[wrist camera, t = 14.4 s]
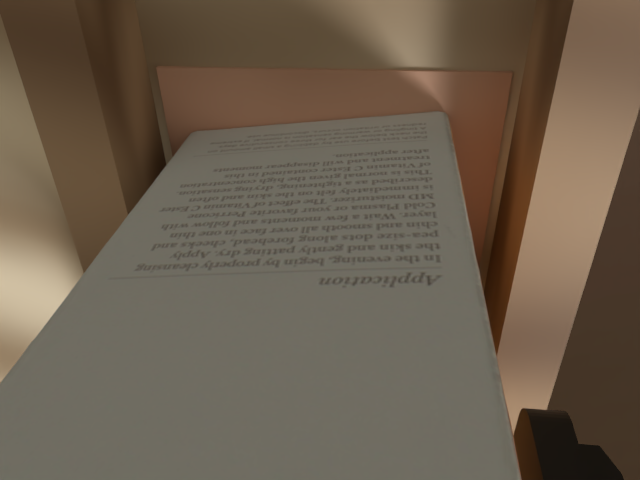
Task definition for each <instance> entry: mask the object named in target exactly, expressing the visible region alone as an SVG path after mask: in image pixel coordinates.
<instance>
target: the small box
mask: <svg viewBox="0 0 640 480" xmlns="http://www.w3.org/2000/svg"><path fill="white" fill-rule="evenodd" d="M0 480H522V478H521V473H520V468H519V463H518V457H517V452H516V447H515V442H514V437H513V432H512V426H511V421H510V417H509V413H508V408H507V404H506V400H505V395H504V390H503V385H502V380H501V375H500V370H499V365H498V360H497V355H496V350H495V345H494V340H493V335H492V331H491V326H490V321H489V316H488V311H487V306H486V301H485V297H484V292H483V286H482V281H481V276H480V271H479V267H478V263H477V259H476V254H475V249H474V243H473V238H472V232H471V227H470V223H469V218H468V213H467V209H466V203H465V198H464V193H463V188H462V183H461V178H460V173H459V167H458V161H457V156H456V151H455V147H454V142H453V135H452V131H451V126H450V122H449V117H448V115H447V114H446V113H445V112H440V111H432V112H423V113H411V114H400V115H389V116H376V117H362V118H351V119H340V120H328V121H316V122H301V123H288V124H274V125H264V126H251V127H240V128H231V129H218V130H204V131H195V132H192V133H191V134H190V135H189V136H188V137H187V139H186V140H185V141H184V143H183V144H182V145H181V147H180V148H179V149H178V151H177V152H176V153H175V155H174V156H173V157H172V159H171V160H170V161H169V162H168V164H167V165H166V166H165V168H164V169H163V170H162V172H161V173H160V174H159V175H158V177H157V178H156V179H155V181H154V182H153V183H152V185H151V186H150V187H149V189H148V190H147V191H146V193H145V194H144V195H143V197H142V198H141V199H140V200H139V202H138V203H137V204H136V206H135V207H134V208H133V209H132V211H131V212H130V213H129V214H128V216H127V217H126V218H125V220H124V221H123V222H122V224H121V225H120V227H119V228H118V229H117V231H116V232H115V233H114V234H113V236H112V237H111V238H110V240H109V241H108V242H107V243H106V245H105V246H104V247H103V248H102V250H101V251H100V252H99V254H98V255H97V256H96V258H95V259H94V261H93V262H92V263H91V265H90V266H89V267H88V269H87V270H86V271H85V273H84V274H83V275H82V277H81V278H80V279H79V281H78V282H77V283H76V285H75V286H74V287H73V289H72V290H71V291H70V293H69V294H68V296H67V297H66V298H65V300H64V301H63V302H62V304H61V305H60V306H59V307H58V309H57V310H56V311H55V313H54V314H53V315H52V317H51V318H50V319H49V321H48V322H47V323H46V325H45V326H44V327H43V329H42V330H41V331H40V332H39V334H38V335H37V336H36V338H35V339H34V340H33V341H32V342H31V343H30V345H29V346H28V347H27V349H26V350H25V352H24V353H23V354H22V356H21V357H20V358H19V360H18V361H17V362H16V364H15V365H14V366H13V367H12V369H11V370H10V371H9V373H8V374H7V375H6V376H5V378H4V379H3V380H2V382H1V383H0Z"/></svg>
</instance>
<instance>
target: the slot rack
mask: <svg viewBox="0 0 640 480" xmlns="http://www.w3.org/2000/svg"><path fill="white" fill-rule="evenodd" d="M639 108H640V0H0V383H1V382H2V380H3V379H4V378H5V376H6V375H7V374H8V373H9V371H10V370H11V369H12V367H13V366H14V365H15V364H16V362H17V361H18V360H19V358H20V357H21V356H22V354H23V353H24V352H25V350H26V349H27V347H28V346H29V345H30V343H31V342H32V341H33V340H34V339H35V338H36V336H37V335H38V334H39V332H40V331H41V330H42V329H43V327H44V326H45V325H46V323H47V322H48V321H49V319H50V318H51V317H52V315H53V314H54V313H55V311H56V310H57V309H58V307H59V306H60V305H61V304H62V302H63V301H64V300H65V298H66V297H67V296H68V294H69V293H70V291H71V290H72V289H73V287H74V286H75V285H76V283H77V282H78V281H79V279H80V278H81V277H82V275H83V274H84V273H85V271H86V270H87V269H88V267H89V266H90V265H91V263H92V262H93V261H94V259H95V258H96V256H97V255H98V254H99V252H100V251H101V250H102V248H103V247H104V246H105V245H106V243H107V242H108V241H109V240H110V238H111V237H112V236H113V234H114V233H115V232H116V231H117V229H118V228H119V227H120V225H121V224H122V222H123V221H124V220H125V218H126V217H127V216H128V214H129V213H130V212H131V211H132V209H133V208H134V207H135V206H136V204H137V203H138V202H139V200H140V199H141V198H142V197H143V195H144V194H145V193H146V191H147V190H148V189H149V187H150V186H151V185H152V183H153V182H154V181H155V179H156V178H157V177H158V175H159V174H160V173H161V172H162V170H163V169H164V168H165V166H166V165H167V164H168V162H169V161H170V160H171V159H172V157H173V156H174V155H175V153H176V152H177V151H178V149H179V148H180V147H181V145H182V144H183V143H184V141H185V140H186V139H187V137H188V136H189V135H190V134H191V133H192V132H195V131H204V130H218V129H231V128H240V127H251V126H264V125H274V124H288V123H301V122H316V121H328V120H340V119H351V118H362V117H376V116H389V115H400V114H411V113H423V112H432V111H440V112H445V113H446V114H447V115H448V117H449V122H450V126H451V131H452V135H453V142H454V147H455V151H456V156H457V161H458V167H459V173H460V178H461V183H462V188H463V193H464V198H465V203H466V209H467V213H468V218H469V223H470V227H471V232H472V238H473V243H474V249H475V254H476V259H477V263H478V267H479V271H480V276H481V281H482V286H483V292H484V297H485V301H486V306H487V311H488V316H489V321H490V326H491V331H492V335H493V340H494V345H495V350H496V355H497V360H498V365H499V370H500V375H501V380H502V385H503V390H504V395H505V400H506V404H507V408H508V413H509V417H510V421H511V426H512V432H513V435H514V431H515V427H516V424H517V420H518V416H519V413H520V411H521V409H522V408H529V409H542V410H547V406H548V403H549V400H550V397H551V393H552V390H553V387H554V384H555V381H556V377H557V374H558V371H559V368H560V364H561V361H562V358H563V355H564V351H565V348H566V345H567V342H568V338H569V335H570V332H571V329H572V325H573V322H574V319H575V316H576V312H577V309H578V306H579V303H580V299H581V296H582V293H583V290H584V286H585V283H586V280H587V277H588V273H589V270H590V267H591V264H592V261H593V257H594V254H595V251H596V248H597V244H598V241H599V238H600V235H601V231H602V228H603V225H604V222H605V218H606V215H607V212H608V209H609V205H610V202H611V199H612V196H613V192H614V189H615V186H616V183H617V179H618V176H619V173H620V170H621V166H622V163H623V160H624V157H625V153H626V150H627V147H628V144H629V141H630V137H631V134H632V131H633V128H634V124H635V121H636V118H637V115H638V111H639Z"/></svg>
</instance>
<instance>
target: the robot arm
mask: <svg viewBox="0 0 640 480" xmlns="http://www.w3.org/2000/svg"><path fill="white" fill-rule="evenodd" d="M513 437H514V442H515V447H516V452H517V457H518V463H519V468H520V473H521V478H522V480H624V479H623V476H622V474H621V472H620V471H619V470H618V469H617V467H616V466H615V465H614V464H613V462H612V461H611V460H610V459H609V457H608V456H607V455H606V454H605V452H604V451H603V450H602V449H601V447H600V446H596V445H584V444H578V441H577V438H576V434H575V431H574V428H573V424H572V421H571V419H570V417H569V415H568V413H567V412H565V411H555V410H542V409H529V408H522V409H521V411H520V413H519V416H518V420H517V424H516V427H515V431H514V435H513Z"/></svg>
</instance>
